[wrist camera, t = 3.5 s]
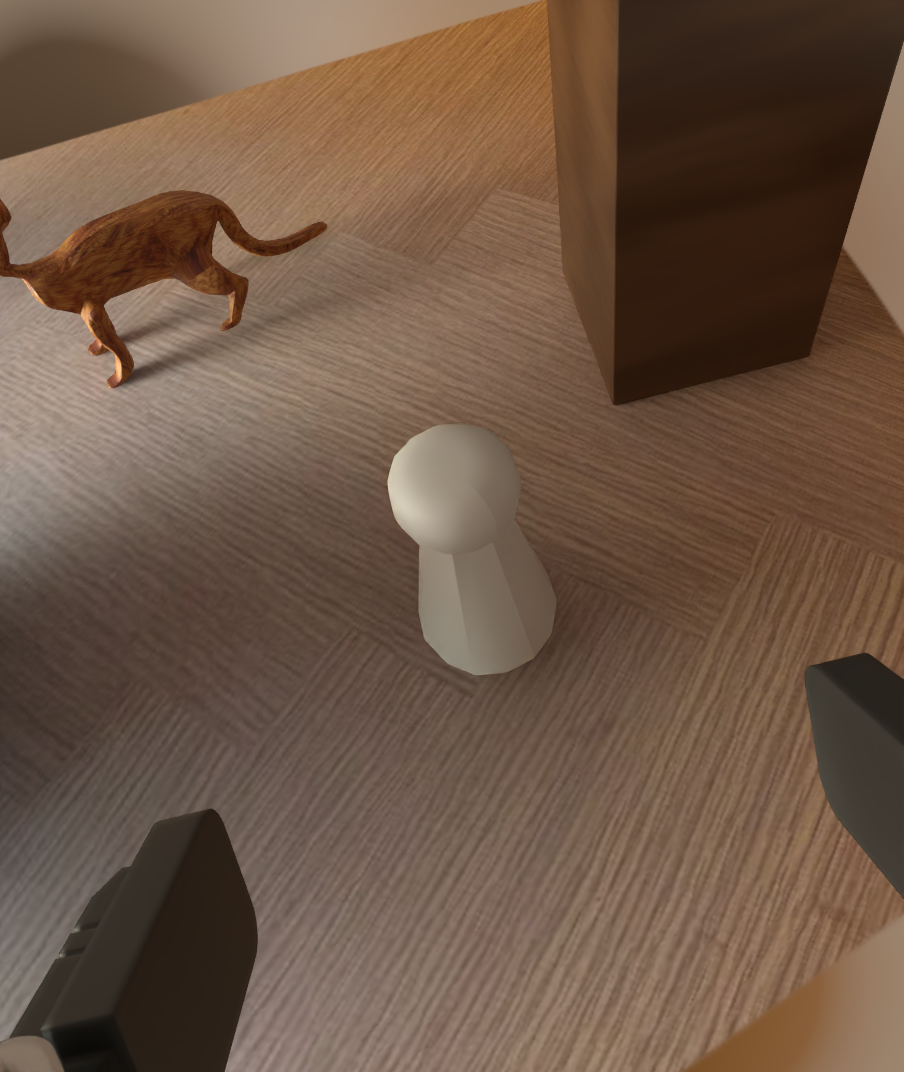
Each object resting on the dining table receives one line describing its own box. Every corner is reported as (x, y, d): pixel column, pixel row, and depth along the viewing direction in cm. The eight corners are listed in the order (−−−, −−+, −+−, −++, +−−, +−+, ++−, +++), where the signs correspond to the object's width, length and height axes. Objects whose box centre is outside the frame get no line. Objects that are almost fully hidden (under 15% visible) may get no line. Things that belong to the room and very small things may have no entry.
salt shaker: (428, 695, 37) (351, 552, 26) (428, 577, 40) (359, 402, 29) (565, 687, 36) (546, 536, 25) (555, 567, 39) (534, 383, 28)
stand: (809, 356, 43) (958, -136, 25) (613, 406, 43) (618, -43, 25) (737, 225, 48) (815, -260, 30) (562, 271, 48) (535, -181, 30)
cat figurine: (308, 213, 54) (225, -13, 42) (357, 269, 51) (282, 41, 39) (50, 355, 51) (-116, 155, 40) (85, 424, 48) (-84, 228, 36)
